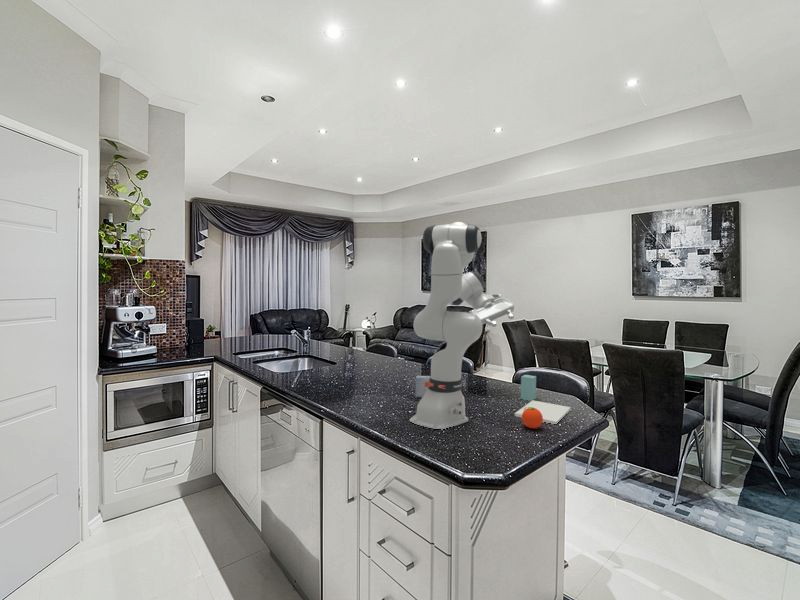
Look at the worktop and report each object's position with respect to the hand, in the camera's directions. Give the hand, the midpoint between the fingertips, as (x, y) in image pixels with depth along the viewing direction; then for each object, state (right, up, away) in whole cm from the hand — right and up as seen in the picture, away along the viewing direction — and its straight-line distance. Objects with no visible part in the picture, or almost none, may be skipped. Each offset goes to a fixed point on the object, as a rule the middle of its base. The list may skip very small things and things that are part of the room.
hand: (503, 321), depth 171 cm
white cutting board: (+10, -34, -19) cm, 41 cm away
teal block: (+11, -34, 0) cm, 35 cm away
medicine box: (-35, -33, +1) cm, 48 cm away
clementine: (0, -35, -35) cm, 50 cm away
